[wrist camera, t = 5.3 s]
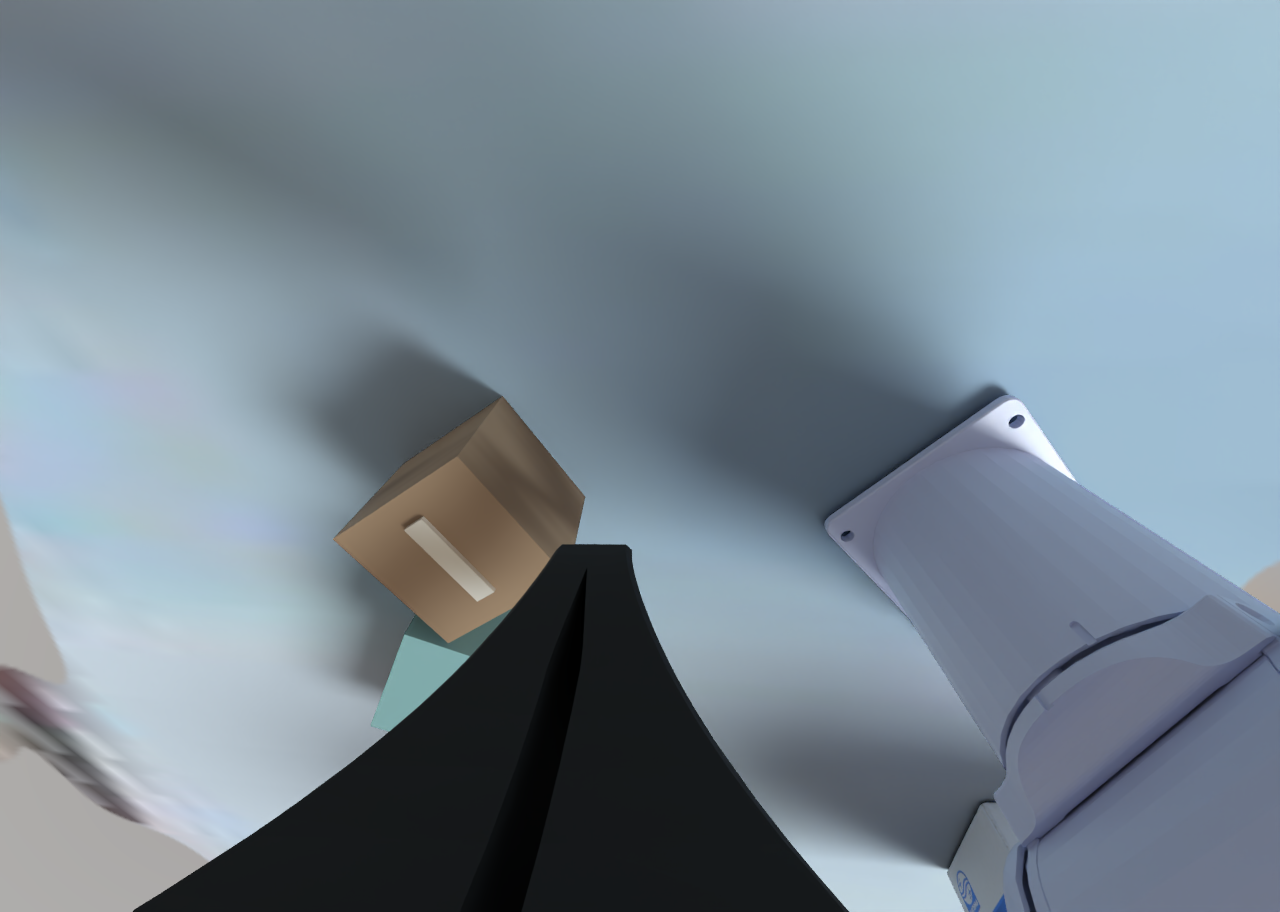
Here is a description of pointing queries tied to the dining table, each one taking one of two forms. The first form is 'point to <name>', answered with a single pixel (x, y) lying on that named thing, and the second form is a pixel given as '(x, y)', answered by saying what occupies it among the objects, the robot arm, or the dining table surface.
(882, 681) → the dining table surface
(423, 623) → the plain block
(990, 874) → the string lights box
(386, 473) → the dining table surface
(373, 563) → the digit block one
